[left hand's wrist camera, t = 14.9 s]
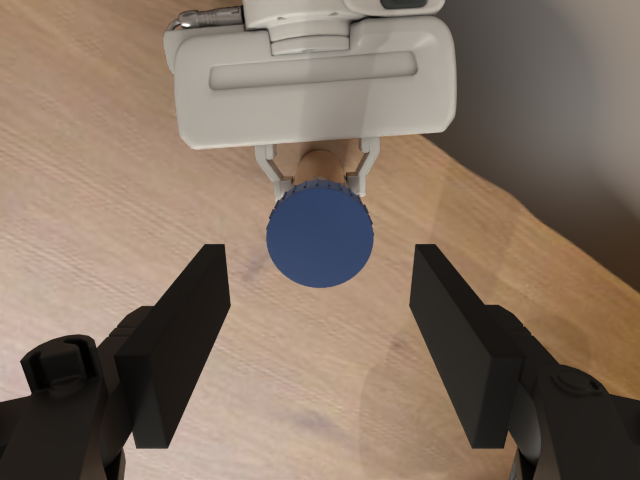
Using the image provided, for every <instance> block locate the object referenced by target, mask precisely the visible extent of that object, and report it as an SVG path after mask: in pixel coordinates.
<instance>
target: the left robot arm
mask: <svg viewBox="0 0 640 480" xmlns="http://www.w3.org/2000/svg"><path fill="white" fill-rule="evenodd" d="M230 306H231V304H230V294H229V284H228V274H227V264H226V254H225V244H205V245H204V246H203V247H202V248H201V249H200V251H199V252H198V253H197V254H196V256H195V257H194V258H193V259H192V260H191V262H190V263H189V264H188V265H187V267H186V268H185V269H184V270H183V271H182V273H181V274H180V275H179V276H178V278H177V279H176V280H175V281H174V282H173V284H172V285H171V286H170V287H169V289H168V290H167V291H166V292H165V293H164V295H163V296H162V297H161V298H160V300H159V301H158V302H157V303H156V304H155V306H141V307H139V308H138V309H136V310H135V311H133V312H131V313H130V314H128V315H127V316H126V317H125V318H124V319H123V320H122V321H121V322H120V323H119V324H118V325H117V328H115V329H114V330H113V331H112V332H111V333H110V334H109V337H107V338H106V339H105V340H104V341H103V342H102V343H101V344H100V345H99V346H98V347H97V348H96V344H95V341H94V339H92V338H91V337H90V336H87V335H80V334H78V335H67V336H63V337H59V338H56V339H52V340H50V341H48V342H45V343H43V344H41V345H39V346H37V347H36V348H34V349H33V350H31V351H30V352H28V353H27V354H26V355H25V356H24V357H23V358H22V360H21V361H20V362H21V365H22V368H23V371H24V373H25V376H26V379H27V382H28V384H29V387H30V390H31V393H32V394H31V396H27V397H22V398H18V399H13V400H8V401H4V402H0V480H124V472H125V464H126V460H125V454H124V450H123V446H124V444H125V442H126V441H127V439H128V437H129V436H130V434H131V432H132V433H133V437H134V441H135V445H136V449H168V447H169V445H170V442H171V440H172V438H173V435H174V433H175V431H176V429H177V426H178V424H179V422H180V420H181V417H182V415H183V413H184V411H185V408H186V406H187V404H188V401H189V399H190V397H191V395H192V392H193V390H194V388H195V386H196V383H197V381H198V379H199V377H200V374H201V372H202V370H203V367H204V365H205V363H206V361H207V358H208V356H209V354H210V352H211V349H212V347H213V345H214V343H215V340H216V338H217V336H218V333H219V331H220V329H221V327H222V324H223V322H224V320H225V318H226V315H227V313H228V311H229V309H230ZM409 306H410V309H411V311H412V313H413V315H414V318H415V320H416V322H417V324H418V327H419V329H420V331H421V333H422V336H423V338H424V340H425V343H426V345H427V347H428V349H429V352H430V354H431V356H432V358H433V361H434V363H435V365H436V367H437V370H438V372H439V374H440V377H441V379H442V381H443V383H444V386H445V388H446V390H447V392H448V395H449V397H450V399H451V401H452V404H453V406H454V408H455V411H456V413H457V415H458V417H459V420H460V422H461V424H462V426H463V429H464V431H465V433H466V435H467V438H468V440H469V442H470V445H471V447H472V449H504V445H505V441H506V437H507V433H508V430H509V432H510V434H511V435H512V437H513V439H514V441H515V442H516V444H517V450H516V454H515V458H514V461H513V465H512V469H511V473H510V476H509V480H515V479H516V480H640V401H639V400H635V399H630V398H625V397H621V396H616V395H612V394H609V393H608V391H607V390H606V389H605V387H604V386H603V385H602V384H601V383H600V382H599V381H597V380H596V379H595V378H593V377H592V376H591V375H589V374H587V373H585V372H583V371H581V370H579V369H576V368H573V367H569V366H566V365H560V364H559V363H558V362H557V361H556V360H555V359H554V358H553V357H552V355H551V354H550V353H549V352H548V351H547V350H546V349H545V348H544V347H543V346H542V345H541V344H540V342H539V341H538V340H537V339H536V338H535V337H534V336H531V333H530V332H529V330H528V329H527V328H526V327H523V324H522V323H521V322H520V321H519V320H518V318H517V317H516V316H515V315H514V314H513V313H511V312H509V311H508V310H506V309H504V308H503V307H501V306H499V305H485V304H484V303H483V302H482V301H481V300H480V298H479V297H478V296H477V295H476V293H475V292H474V291H473V290H472V289H471V287H470V286H469V285H468V284H467V282H466V281H465V280H464V279H463V278H462V276H461V275H460V274H459V273H458V271H457V270H456V269H455V268H454V267H453V265H452V264H451V263H450V262H449V260H448V259H447V258H446V257H445V256H444V254H443V253H442V252H441V251H440V249H439V248H438V247H437V246H436V245H435V244H415V254H414V264H413V274H412V284H411V294H410V304H409Z"/></svg>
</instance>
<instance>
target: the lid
mask: <svg viewBox="0 0 640 480" xmlns="http://www.w3.org/2000/svg"><path fill="white" fill-rule="evenodd" d="M274 208H275V209H273V210H272V212H271V214H270V217H269V219H270V221H269V223H268V226H267V228H266V230H267V237H266V241H267V247H268V251H269V254H270V257H271V259H272V261H273V263H274V264H275V266H276V267H277V268H278V269H279V270H280V271H281V272H282V274H284V275H285V276H286V277H287V278H289V279H290V280H292V281H294V282H296V283H298V284H301V285H304V286H308V287H314V288H326V287H332V286H336V285H339V284H342V283H344V282H346V281H348V280H350V279H351V278H352V277H354V276H355V275H356V274H357V273H358V272H359V271H360V270H361V269H362V268H363V267H364V266H365V264H366V262H367V261H368V259H369V256H370V254H371V251H372V247H373V236H374V233H373V228H372V224H373V223H372V221H371V218H370V216H369V215H368V210H367V208H366V206H365V204H364V205H363V204H362V202H361V199H360V197H359V195H358V196H357V195H356V194H354V193H353V192H352V190H351V188H349V189H348V188H347V187H345V186H343V185H342V184H341V183H340V182H339V183H336V182H333V181H330V179H328V180H318V179H316V180H312V181H307V180H306V181H304V183H301V184H299V185H297V186H296V185H294V186H293V188H292V189H290V190H289V191H288V192H286V191H285V192H284V195H283V197H282V198H281V199H280V200H279V199H278V200H277V203H276V205H275V207H274Z"/></svg>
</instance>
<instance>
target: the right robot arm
mask: <svg viewBox="0 0 640 480" xmlns="http://www.w3.org/2000/svg"><path fill="white" fill-rule="evenodd" d="M242 1H243V4H242V6H234V7H226V8H218V9H213V10H209V11H198V10H189V11H184V12H181V13H180V14H179V18H178V19H176V20H174V21H172V22H171V23H170V24H169V25H168V27H167V28H166V31H165V33H164V36H163V44H164V49H165V54H166V59H167V64H168V67H169V69H170V71H171V73H172V74H173V76H174V94H175V107H176V116H177V123H178V130H179V134H180V137H181V138H182V140H183V141H184V142H185V143H186V144H187V145H188V146H189V147H191V148H192V149H194V150H198V149H212V148H226V147H240V146H254V148H255V156H256V161H257V163H258V164H259V165H260V167H261V168H262V169H263V171H264V172H265V173H266V175H267V176H268V177H269V179H270V180H271V181H273V185H274V193H275V200H276V202H277V200H278V199H279V200H280V199H281V198H282V197H283V195H284V192H285V191H286V192H288V191H289V190H290V189H291V186H292V183H293V176H288V177H283V175H282V174H281V172H280V171H279V169H278V168H277V166H276V165H275V163H274V162H273V160H272V159H273V158H274V157H275V156H276V155H277V150H276V144H282V143H296V142H310V141H324V140H338V139H352V138H358V140H359V149H360V150H361V152H363V153H364V155H363V157H362V159H361V161H360V163H359V165H358V167H357V169H356V172H347V173H346V180H347V183H348V186H349V188H351V190H352V192H353V193H354V194H356V195H357V196H358V195H359V196H360V197H363V196H366V175H367V174H368V173H369V171H370V169H371V167H372V165H373V164H374V162H375V160H376V158H377V156H378V154H379V153H380V136H394V135H408V134H422V133H435V132H443V131H444V130H445V129H446V128H447V127H448V126H449V124H450V123H451V122H452V120H453V119H454V117H455V113H456V98H457V77H456V59H455V48H454V42H453V38H452V35H451V32H450V30H449V28H448V27H447V25H446V24H445V23H444V22H443V21H442V20H440V19H438V18H436V17H434V16H435V15H436V14H437V13H438V12H439V10H440V9H441V8H442V7H443V5H444V3H445V0H242ZM179 25H181V27H182V28H183V29H180V30H174V29H175V28H176V27H177V26H179ZM215 26H216V27H215ZM202 27H205V28H202ZM246 31H247V32H246Z"/></svg>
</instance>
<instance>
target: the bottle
mask: <svg viewBox="0 0 640 480" xmlns="http://www.w3.org/2000/svg"><path fill="white" fill-rule="evenodd" d="M316 179H318V180H328V179H330V181H333V182H336V183H339V182H340V183H341V184H342V185H343V186H345V187H347V188H348V189H349V186H348V183H347V180H346V177H345V174H344V171H343V168H342V165H341V163H340V161H339V159H338V158H337V157H336V156H335V155H334V154H332V153H331V152H328V151H325V150H315V151H312V152H309V153H308V154H306V155H305V156H304V157H303V158H302V160H301V161H300V163H299V166H298V169H297V172H296V174H295V177H294V180H293V183H292V186H291V189H292V188H293V186H294V185H296V186H297V185H299V184H301V183H304V181H306V180H307V181H312V180H316Z"/></svg>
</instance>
